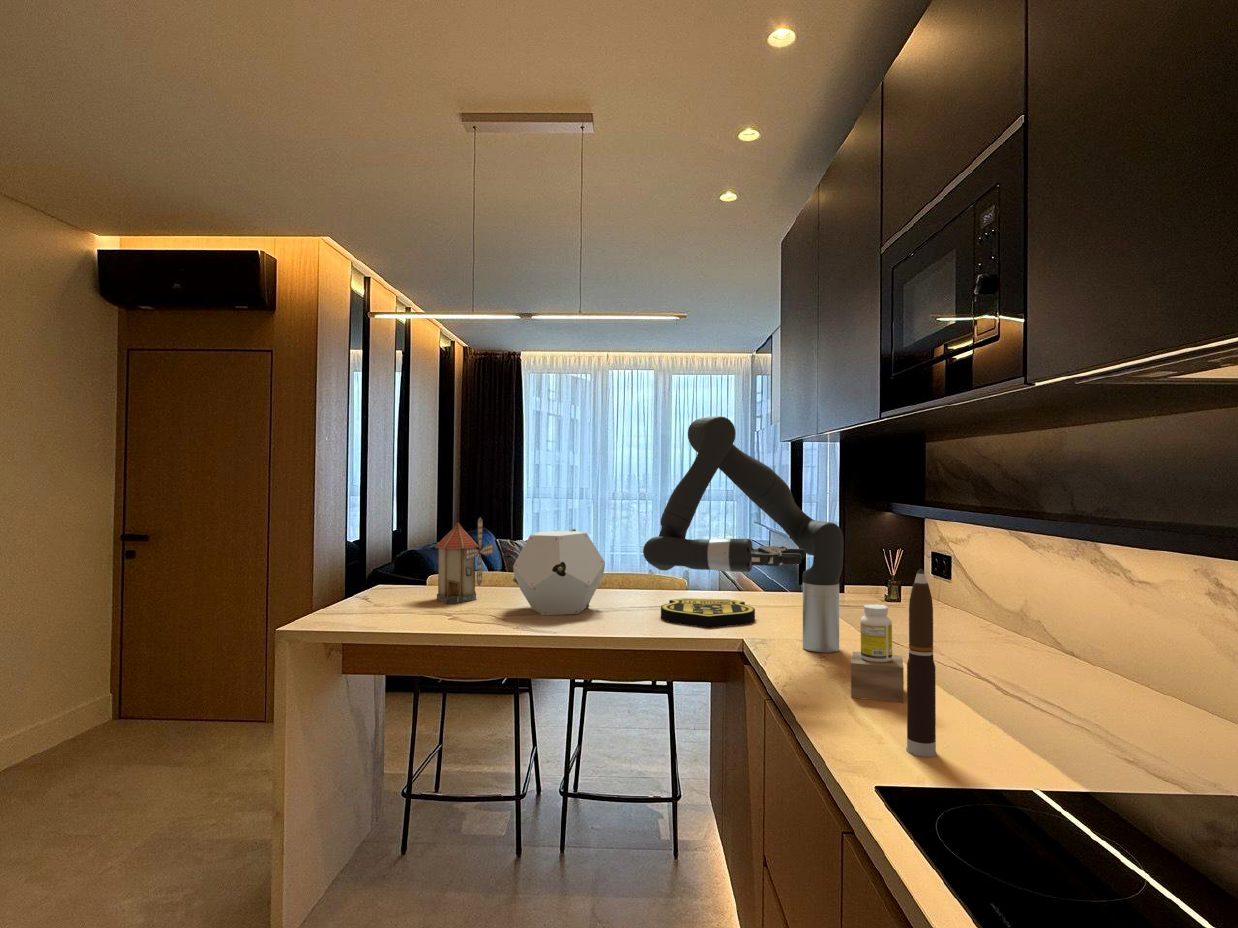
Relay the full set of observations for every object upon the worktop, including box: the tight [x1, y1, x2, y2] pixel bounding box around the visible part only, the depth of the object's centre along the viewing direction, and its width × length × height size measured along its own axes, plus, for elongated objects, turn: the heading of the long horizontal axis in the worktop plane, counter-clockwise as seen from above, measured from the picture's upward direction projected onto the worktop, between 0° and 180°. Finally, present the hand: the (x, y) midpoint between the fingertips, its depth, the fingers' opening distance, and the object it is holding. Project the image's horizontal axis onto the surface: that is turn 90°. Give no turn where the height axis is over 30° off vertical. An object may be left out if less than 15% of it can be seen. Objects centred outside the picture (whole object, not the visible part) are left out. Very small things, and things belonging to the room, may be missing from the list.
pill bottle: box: [860, 604, 893, 663], centre depth 149 cm, size 6×6×11 cm
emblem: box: [660, 598, 756, 629], centre depth 226 cm, size 30×4×30 cm
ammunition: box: [906, 568, 937, 758], centre depth 117 cm, size 5×5×30 cm
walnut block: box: [850, 651, 905, 704], centre depth 149 cm, size 10×10×7 cm
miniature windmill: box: [434, 516, 495, 605], centre depth 257 cm, size 24×20×30 cm
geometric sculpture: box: [512, 528, 606, 616], centre depth 238 cm, size 30×30×30 cm
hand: (802, 556), depth 158 cm, fingers open, 8 cm apart
